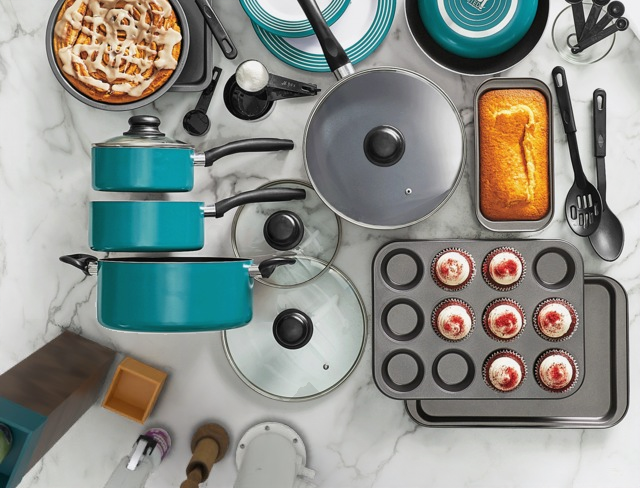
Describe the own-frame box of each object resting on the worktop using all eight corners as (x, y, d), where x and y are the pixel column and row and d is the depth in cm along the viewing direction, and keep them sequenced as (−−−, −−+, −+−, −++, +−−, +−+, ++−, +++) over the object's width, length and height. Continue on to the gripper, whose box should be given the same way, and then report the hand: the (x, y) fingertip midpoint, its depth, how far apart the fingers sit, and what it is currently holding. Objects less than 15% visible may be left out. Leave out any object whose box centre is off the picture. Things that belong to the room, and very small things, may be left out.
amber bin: (167, 374, 122) (160, 383, 118) (150, 414, 122) (142, 425, 118) (127, 356, 122) (118, 364, 118) (110, 396, 122) (100, 406, 118)
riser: (117, 351, 122) (46, 416, 94) (95, 401, 123) (19, 481, 95) (66, 329, 122) (-19, 387, 94) (45, 379, 123) (-46, 452, 95)
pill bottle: (177, 436, 122) (162, 462, 113) (162, 461, 123) (146, 489, 113) (151, 420, 122) (134, 445, 113) (136, 445, 123) (118, 472, 113)
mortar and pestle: (225, 462, 122) (203, 519, 104) (190, 455, 122) (162, 510, 104) (232, 426, 122) (211, 477, 104) (197, 419, 122) (170, 469, 104)
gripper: (102, 590, 96) (137, 521, 113) (150, 480, 96) (178, 427, 113) (53, 569, 96) (96, 503, 113) (101, 459, 96) (136, 409, 113)
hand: (137, 465), depth 113 cm, fingers open, 9 cm apart
